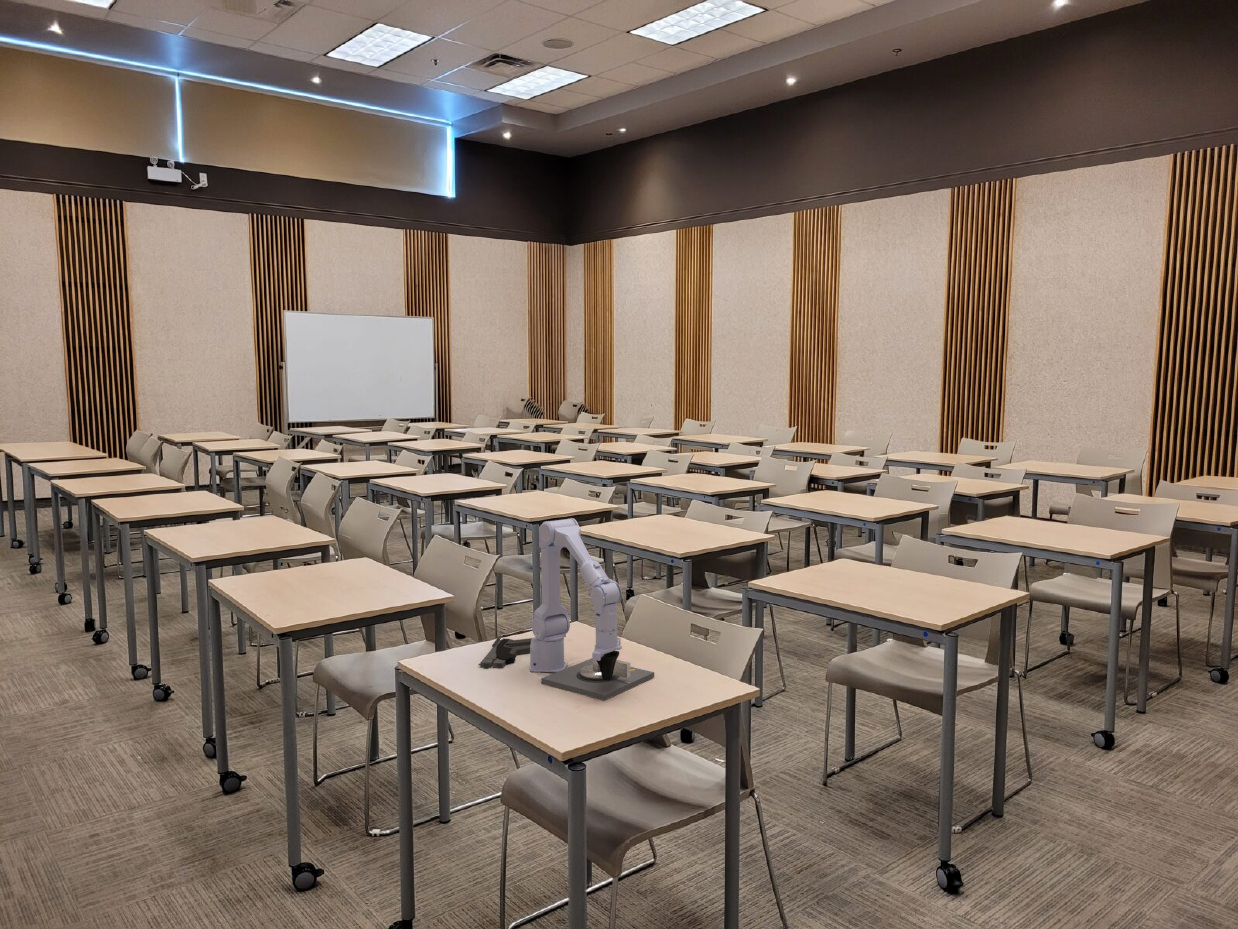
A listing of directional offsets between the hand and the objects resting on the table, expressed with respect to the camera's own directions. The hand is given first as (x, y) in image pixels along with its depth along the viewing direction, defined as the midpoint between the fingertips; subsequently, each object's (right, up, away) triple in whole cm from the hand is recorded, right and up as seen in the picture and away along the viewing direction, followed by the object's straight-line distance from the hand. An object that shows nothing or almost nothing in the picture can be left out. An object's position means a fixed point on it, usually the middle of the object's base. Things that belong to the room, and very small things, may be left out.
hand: (607, 679), depth 231 cm
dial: (0, -1, +8) cm, 8 cm away
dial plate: (-3, -3, +10) cm, 11 cm away
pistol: (-29, -2, +33) cm, 44 cm away
